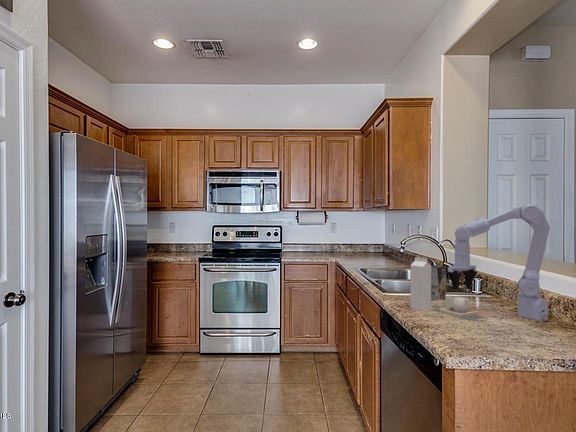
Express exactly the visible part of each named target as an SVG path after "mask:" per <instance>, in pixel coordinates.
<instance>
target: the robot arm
mask: <svg viewBox="0 0 576 432" xmlns="http://www.w3.org/2000/svg"><path fill="white" fill-rule="evenodd" d="M511 219H515V220H520V219H521V220H522V221H524V222H526V223H528V225H529V226H530V227H531V228H532V230H533V234H532V239H531V243H530V247H529V251H528V256H527V258H526V259H527V260H526V264H525V269H524V270H523V272H522V276H521V278H520V279H519V280H518V282H517V286H518V288H519V291H518V293H517V316H519V317H521V318H525V319H526V318H527V319H532V320H536V323H541V322H547V321H550V319H549V317H548V314H549V309H548V308H549V302H548V300H547V299H546V298H544V297H541V296H540V291H541V286H540V271H541V267H542V263H543V258H544V254H545V251H546V246H547V241H548V237H549V233H550V227H551V226H550V224H549V222H548V221H547V217H546V216H545V214H544V211H543V210H542V209H541V208H540V207H539V206H537V205H536V204H533V203H529V204H525V205H521V206H518V207H513V208H510V209H508V210H505V211H503V212H501V213H499V214H497V215H495V216H492V217H490V218H485V217H484V218H483V217H481V218H479V217H477V218H475V220H473V221H471V222H469V223H463V225H464V226H463V225H462V226H458V227H457V228H456V229H455V231H454V236H455V239H454V264H452V266H448V267H447V270H446V275H447V276H448V277H449V279H450V283H451V285H452V290H456V291H457V290H459V288H460V280H461V276H462V275H463V277H464V286H465V288H466V289H471V288H472V286H473V282H474V280H475V277H476V276H477V275H478V271H477V266H476V265H471V254H470V253H471V247H470V246H471V244H470V238H471V237H473V238H474V237H476V236H479V235H482V234H484V233H486V232H488V231H489V230H490V228H491V227H492V226H496V225H498V224H501V223H503V222H506V221H509V220H511ZM489 232H490V231H489ZM460 272H462V273H463V274H462V273H460Z"/></svg>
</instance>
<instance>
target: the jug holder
mask: <svg viewBox="0 0 576 432" xmlns="http://www.w3.org/2000/svg"><path fill="white" fill-rule="evenodd" d="M432 311H434V312H437V313H441V314H445V315H448V316H451V317H456V318H458V319H462V320H467V321H474V320H479V319H486V318H491V317H495V316H496V317H497V316H502V314H501V313H497V312H492V311H487V310H483V309H480V308H476V307H471V306H467V313H461V314H460V313H456V312H454V308H452V307H448V306H446V307H442V308H436V309H435V308H433V309H432Z"/></svg>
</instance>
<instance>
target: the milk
mask: <svg viewBox="0 0 576 432" xmlns="http://www.w3.org/2000/svg"><path fill="white" fill-rule="evenodd" d="M409 285H410V295H409V296H410V298H409V299H410V303H409V305H410V309H414V310H416V311H417V310H418V311H422V312H423V311H428V310H432V301H431V264H430V263H429V262H428V258H425V257H414V261H413V262H412V263H411V264H410V284H409Z"/></svg>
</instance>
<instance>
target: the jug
mask: <svg viewBox="0 0 576 432" xmlns="http://www.w3.org/2000/svg"><path fill="white" fill-rule="evenodd" d="M468 302H471V299H470V298H468V297H465V296H451V295H446V299H445V307H452V308H454V312H456V313H460V314H461V313H467V307H468Z"/></svg>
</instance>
